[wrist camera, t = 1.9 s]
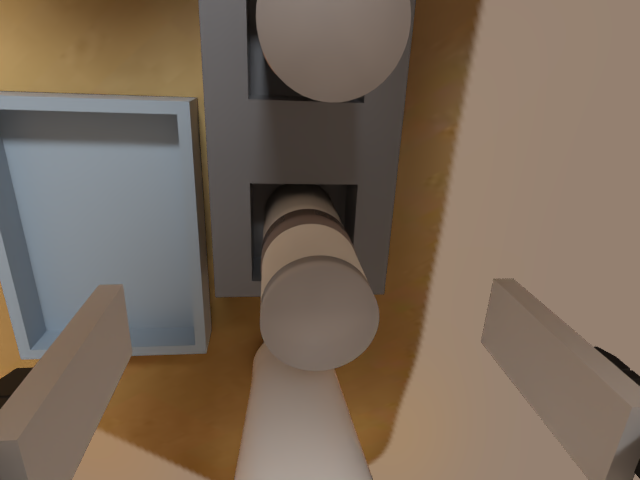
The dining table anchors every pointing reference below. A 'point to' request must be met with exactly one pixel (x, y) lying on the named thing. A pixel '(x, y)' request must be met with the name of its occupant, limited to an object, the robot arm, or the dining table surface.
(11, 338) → the dining table surface
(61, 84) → the dining table surface
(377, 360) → the dining table surface
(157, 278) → the parts tray
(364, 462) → the drinking glass
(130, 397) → the dining table surface
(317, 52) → the fuse
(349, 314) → the cylinder
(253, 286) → the fuse block
